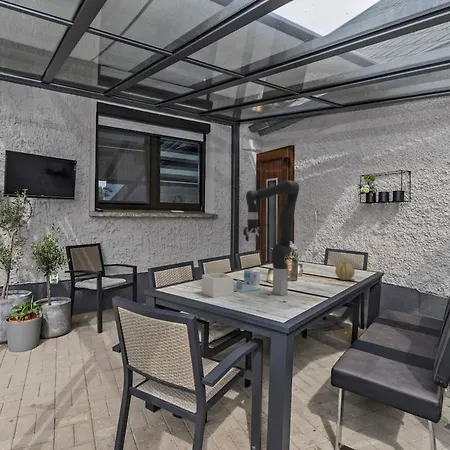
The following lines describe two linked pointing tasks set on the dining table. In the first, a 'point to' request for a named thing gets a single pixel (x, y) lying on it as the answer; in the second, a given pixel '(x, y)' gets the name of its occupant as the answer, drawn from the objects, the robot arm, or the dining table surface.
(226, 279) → the tub
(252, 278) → the light bulb box
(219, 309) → the dining table surface
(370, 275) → the dining table surface
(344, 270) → the cantaloupe
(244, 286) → the lid
